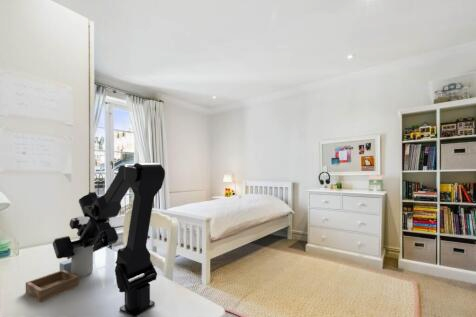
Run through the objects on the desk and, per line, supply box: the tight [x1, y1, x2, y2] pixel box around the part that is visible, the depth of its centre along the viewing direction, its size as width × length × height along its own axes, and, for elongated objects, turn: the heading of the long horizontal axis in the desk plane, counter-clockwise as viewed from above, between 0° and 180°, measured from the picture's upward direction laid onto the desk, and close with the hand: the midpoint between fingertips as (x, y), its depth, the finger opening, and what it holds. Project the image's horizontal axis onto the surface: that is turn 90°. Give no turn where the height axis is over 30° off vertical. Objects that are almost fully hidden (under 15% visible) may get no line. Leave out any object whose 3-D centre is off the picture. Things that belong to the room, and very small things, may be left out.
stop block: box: [59, 258, 71, 273], centre depth 86 cm, size 3×8×4 cm, turn 150°
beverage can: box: [70, 238, 94, 278], centre depth 84 cm, size 6×6×12 cm
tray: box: [25, 270, 80, 303], centre depth 73 cm, size 10×10×3 cm
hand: (80, 254), depth 85 cm, fingers open, 8 cm apart
